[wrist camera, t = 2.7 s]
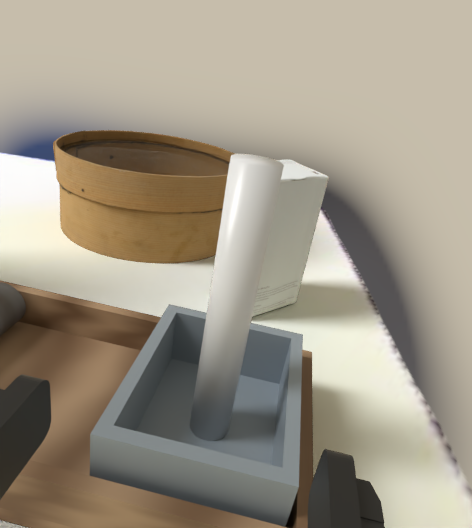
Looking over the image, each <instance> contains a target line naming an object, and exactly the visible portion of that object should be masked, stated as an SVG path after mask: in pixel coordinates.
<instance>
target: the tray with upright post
mask: <svg viewBox="0 0 472 528" xmlns="http://www.w3.org/2000/svg"><path fill="white" fill-rule="evenodd" d="M283 167H284V165H283V164H282V163H281V162H279V161H276V160H274V159H270V158H266V157H262V156H257V155H250V154H234V155H231V159H230V165H229V172H228V178H227V185H226V191H225V198H224V204H223V211H222V217H221V224H220V230H219V237H218V243H217V250H216V256H215V263H214V269H213V276H212V282H211V289H210V295H209V302H208V308H207V313H205V312H200V311H196V310H191V309H187V308H183V307H178V306H174V305H169V306H168V307H167V309H166V311H165V312H164V314H163V315H162V317H161V319H160V320H159V322H158V324H157V325H156V327H155V329H154V330H153V332H152V334H151V335H150V337H149V338H148V340H147V342H146V343H145V345H144V347H143V348H142V350H141V352H140V353H139V355H138V357H137V358H136V360H135V361H134V363H133V365H132V366H131V368H130V370H129V371H128V373H127V375H126V376H125V378H124V379H123V381H122V383H121V384H120V386H119V388H118V389H117V391H116V393H115V394H114V396H113V398H112V399H111V401H110V402H109V404H108V406H107V407H106V409H105V411H104V412H103V414H102V416H101V417H100V419H99V421H98V422H97V424H96V425H95V427H94V429H93V430H92V432H91V434H90V476H93V477H97V478H100V479H104V480H108V481H112V482H116V483H119V484H123V485H127V486H131V487H135V488H139V489H142V490H146V491H150V492H154V493H158V494H161V495H165V496H169V497H173V498H177V499H180V500H184V501H188V502H192V503H196V504H200V505H203V506H207V507H211V508H215V509H219V510H222V511H226V512H230V513H234V514H238V515H241V516H245V517H249V518H253V519H257V520H261V521H264V522H268V523H272V524H276V525H280V526H283V527H285V526H286V523H287V521H288V518H289V515H290V512H291V509H292V506H293V503H294V500H295V497H296V494H297V491H298V488H299V460H300V421H301V381H302V342H303V335H302V334H297V333H293V332H289V331H284V330H280V329H275V328H271V327H266V326H262V325H258V324H253V323H251V319H252V315H253V310H254V305H255V300H256V296H257V291H258V286H259V281H260V277H261V272H262V267H263V262H264V258H265V253H266V248H267V243H268V239H269V234H270V229H271V224H272V220H273V215H274V210H275V205H276V201H277V196H278V191H279V186H280V182H281V177H282V172H283Z"/></svg>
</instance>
